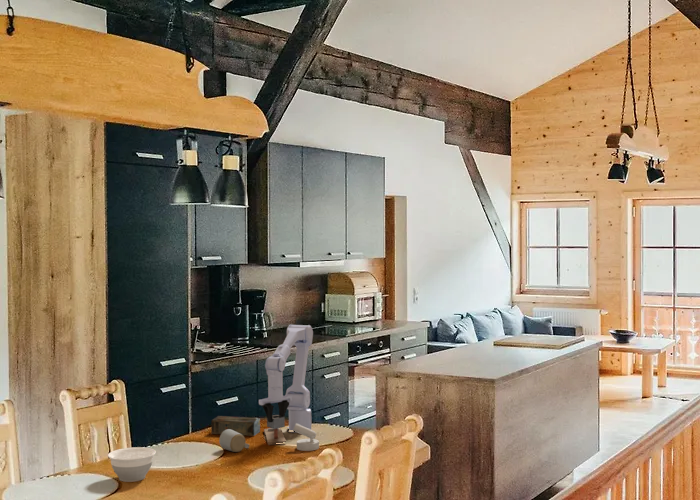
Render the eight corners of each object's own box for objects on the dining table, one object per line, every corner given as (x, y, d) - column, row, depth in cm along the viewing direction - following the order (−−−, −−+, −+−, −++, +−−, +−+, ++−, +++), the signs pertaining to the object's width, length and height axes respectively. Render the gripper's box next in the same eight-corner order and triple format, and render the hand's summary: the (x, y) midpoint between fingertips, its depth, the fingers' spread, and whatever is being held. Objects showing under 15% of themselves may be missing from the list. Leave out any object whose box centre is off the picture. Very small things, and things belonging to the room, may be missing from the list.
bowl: (137, 468, 298) (137, 444, 297) (165, 476, 288) (165, 451, 287) (98, 479, 285) (98, 454, 285) (126, 488, 275) (126, 462, 275)
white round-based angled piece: (293, 420, 328) (319, 420, 328) (294, 445, 328) (319, 444, 328) (291, 425, 320) (318, 425, 319) (292, 450, 320) (318, 450, 320)
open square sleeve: (277, 424, 337) (277, 414, 337) (284, 427, 333) (284, 417, 333) (267, 426, 334) (266, 416, 334) (273, 428, 330) (273, 418, 330)
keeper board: (280, 431, 351) (280, 417, 351) (286, 444, 330) (285, 429, 330) (264, 431, 350) (263, 418, 350) (268, 445, 328) (268, 430, 328)
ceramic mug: (231, 454, 315) (231, 434, 315) (218, 450, 321) (218, 430, 321) (254, 449, 322) (254, 429, 322) (241, 446, 328) (241, 426, 328)
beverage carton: (254, 436, 343) (254, 420, 343) (210, 434, 347) (210, 418, 347) (260, 432, 351) (260, 416, 351) (217, 430, 355) (217, 414, 355)
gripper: (285, 383, 341) (285, 416, 341) (254, 387, 332) (254, 421, 332) (294, 385, 336) (295, 419, 336) (264, 390, 327) (264, 424, 327)
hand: (275, 420), depth 334 cm, fingers closed on open square sleeve, 5 cm apart
